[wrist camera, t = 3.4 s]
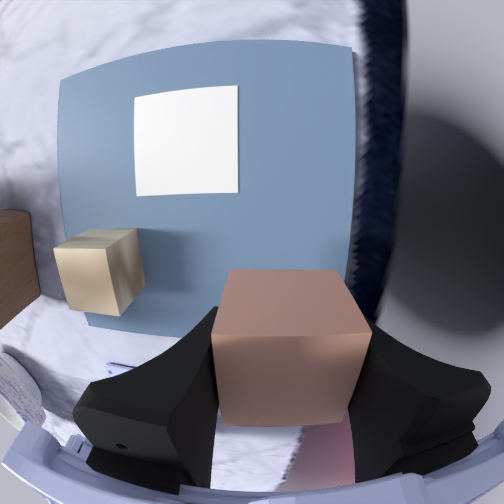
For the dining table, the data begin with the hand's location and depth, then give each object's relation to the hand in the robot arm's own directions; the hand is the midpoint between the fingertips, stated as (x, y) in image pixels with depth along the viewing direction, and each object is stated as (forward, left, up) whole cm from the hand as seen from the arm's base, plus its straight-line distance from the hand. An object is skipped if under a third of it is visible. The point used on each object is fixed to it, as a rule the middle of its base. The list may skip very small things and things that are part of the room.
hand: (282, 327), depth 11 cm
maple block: (0, +12, -8) cm, 14 cm away
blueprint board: (+4, +6, -8) cm, 11 cm away
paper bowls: (-22, +40, -9) cm, 46 cm away
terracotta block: (0, 0, -1) cm, 1 cm away
